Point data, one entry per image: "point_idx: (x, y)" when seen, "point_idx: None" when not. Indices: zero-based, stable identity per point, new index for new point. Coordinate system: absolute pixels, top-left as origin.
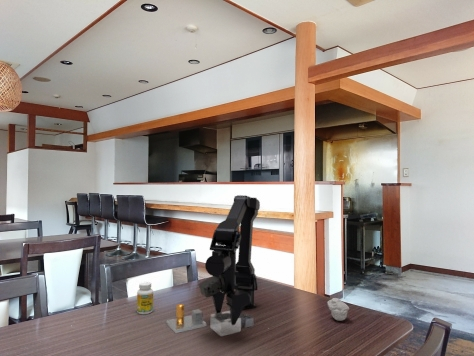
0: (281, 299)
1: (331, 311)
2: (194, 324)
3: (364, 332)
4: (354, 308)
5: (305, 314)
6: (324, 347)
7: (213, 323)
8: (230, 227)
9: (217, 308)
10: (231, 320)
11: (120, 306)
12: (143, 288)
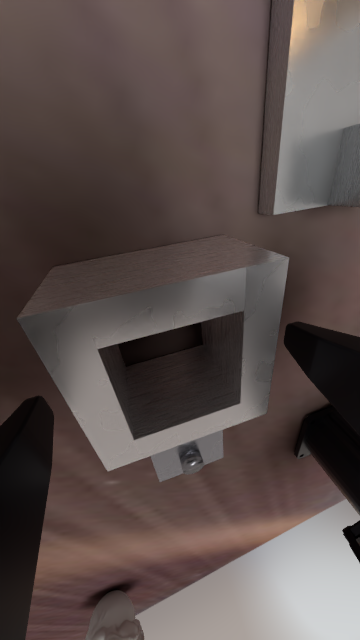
0: (289, 499)
1: (119, 620)
2: (308, 80)
3: None
4: (163, 594)
5: (175, 544)
6: None
7: (194, 255)
8: None
9: (327, 353)
10: (3, 434)
11: None
12: None
